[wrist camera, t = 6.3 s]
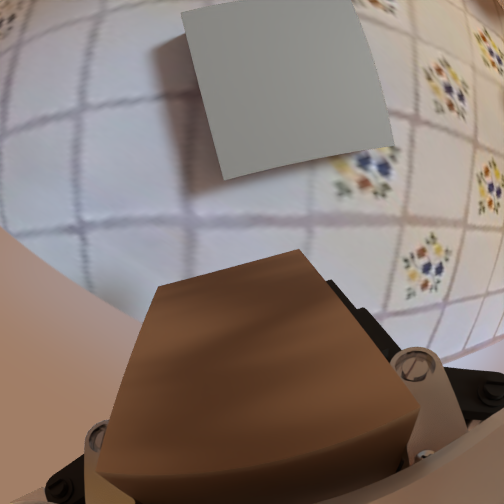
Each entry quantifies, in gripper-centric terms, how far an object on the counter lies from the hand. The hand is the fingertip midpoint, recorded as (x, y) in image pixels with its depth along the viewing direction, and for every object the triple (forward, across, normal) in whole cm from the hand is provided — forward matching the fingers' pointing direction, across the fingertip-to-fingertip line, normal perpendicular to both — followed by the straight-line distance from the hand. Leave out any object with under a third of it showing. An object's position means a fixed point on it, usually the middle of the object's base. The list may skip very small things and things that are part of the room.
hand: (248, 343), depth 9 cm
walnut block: (+1, 0, 0) cm, 1 cm away
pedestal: (+16, -8, -11) cm, 21 cm away
